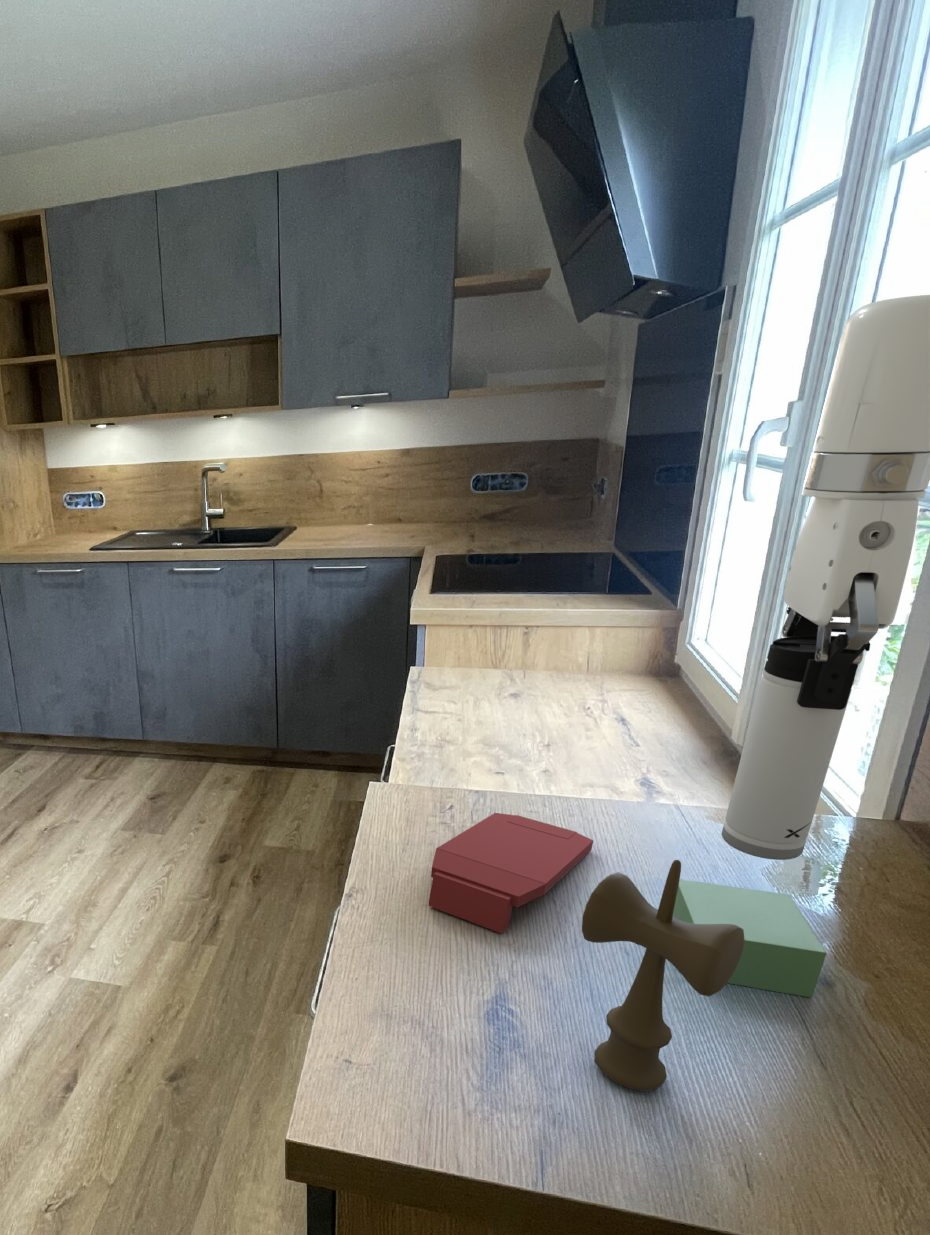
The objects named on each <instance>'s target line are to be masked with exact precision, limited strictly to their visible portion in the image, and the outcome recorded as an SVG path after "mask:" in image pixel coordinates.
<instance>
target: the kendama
mask: <svg viewBox="0 0 930 1235" xmlns="http://www.w3.org/2000/svg"><path fill="white" fill-rule="evenodd" d="M681 873H682V862H681V860H679V859H674V860H673V861H672V863H671V865H670V867H669V870H668V874H667V877H666V880H665V883H664V887H663V890H662V894H661V897H660V901H659V904H658V908H655V907H654V906H652V905H651V903H650V902H648V900H647V899H646V898H645V897H644V896H643V894H642V892H641V891H640V890H639V888H638V887H637V886H636V884H635V883H634V882H633V880H632V879H631V878H630V877H629V876H628V875H626V874H624V873H622V872H619V871H617V872H614V873H611V874H609V875H607V876H606V877H605V878H604V879H602V880H601V881H600V882H599V883H598V884H597V885H596V887H595V888H594V889H593V891H592V892H591V894H590V896H589V898H588V900H587V902H586V904H585V907H584V911H583V914H582V918H581V919H582V920H581V933H582V937H583V939H584V940H585V941H587V942H589V943H593V944H594V943H595V944H601V943H603V944H604V943H616V942H630V943H634V944H635V945H637V946H641V947H643V948H645V952H644V954H643V958H642V960H641V963H640V965H639V967H638V971H637V973H636V975H635V978H634V980H633V983H632V985H631V987H630V989H629V991H628V993H627V996H626V998H625V999H624V1001H623V1002H622V1005H618V1006H615V1007H613V1008H611V1009H610V1010H609V1011H608V1013H607V1014H606V1016H605V1018H606V1025H607V1027H608V1028H609V1030H610V1033H609V1037H608V1039H607V1040H606V1041H603V1042H601V1043H600V1044H599V1045H598V1046H597V1048H596V1049H595V1050H594V1053H593V1054H594V1063H595V1065H596V1066H597V1067H598V1068H599V1070H600V1071H601V1072H602V1073H603V1074H604V1075H606V1077H608V1078H609V1079H610V1080H612V1081H613V1082H615V1083H617V1084H619V1085H620V1086H623V1087H625V1088H628V1089H631V1090H636V1091H640V1092H642V1091H643V1092H645V1091H654V1090H657V1089H658V1088H660V1087H662V1086H663V1084H664V1083H665V1081H666V1079H667V1076H668V1075H667V1068H666V1066H665V1064H664V1063H663V1062H662V1061H661V1059H660V1058H659V1057H660V1051H661V1049H662V1048H664V1047H666V1046H668V1045H669V1044H670V1042H671V1040H672V1038H673V1034H672V1030H671V1028H670V1026H668V1024H666V1022H665V1020H664V1016H663V999H664V998H663V997H664V996H663V994H664V980H665V967H666V960H667V961H668V962H669V963H670V964H672V966H673V967H675V969H676V970H677V971H678V972H679V973H680V974H681V976H682V977H683V978H684V979H685V981H686V982H687V983H688V984H689V986H690V987H691V988H692V989H693V990H694V991H695V992H696V993H697V994H698V995H700V996H704V997H711V996H713V995H716V994H717V993H719V992H720V991H721V990H723V988H724V987H725V986H726V985H727V984H728V983H727V982H728V980H729V979H730V978H731V976H732V975H733V973H734V971H735V969H736V967H737V965H738V963H739V960H740V957H741V955H742V952H743V947H744V942H745V940H744V931H743V929H742V928H740V927H739V926H737V925H733V924H692V923H688V922H684V921H681V920H679V919H676V918H674V917H673V912H674V907H675V901H676V896H677V891H678V885H679V880H680V879H681Z"/></svg>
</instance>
